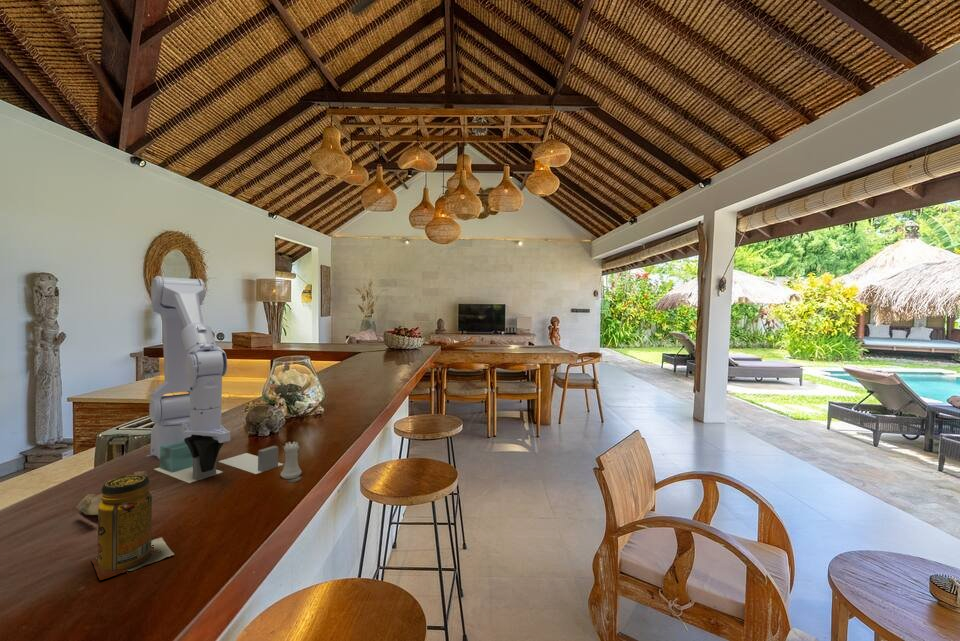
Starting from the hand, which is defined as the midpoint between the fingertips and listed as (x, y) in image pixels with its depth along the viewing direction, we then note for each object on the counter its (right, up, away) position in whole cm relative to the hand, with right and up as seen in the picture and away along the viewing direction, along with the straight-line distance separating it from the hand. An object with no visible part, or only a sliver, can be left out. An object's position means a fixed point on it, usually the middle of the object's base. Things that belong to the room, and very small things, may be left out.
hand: (204, 469), depth 90 cm
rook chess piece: (+18, -3, +2) cm, 18 cm away
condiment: (+8, -4, -28) cm, 29 cm away
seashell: (-8, -3, -12) cm, 15 cm away
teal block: (-9, -1, +5) cm, 10 cm away
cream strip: (-6, -2, +3) cm, 7 cm away
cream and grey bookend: (+5, -2, +9) cm, 10 cm away
